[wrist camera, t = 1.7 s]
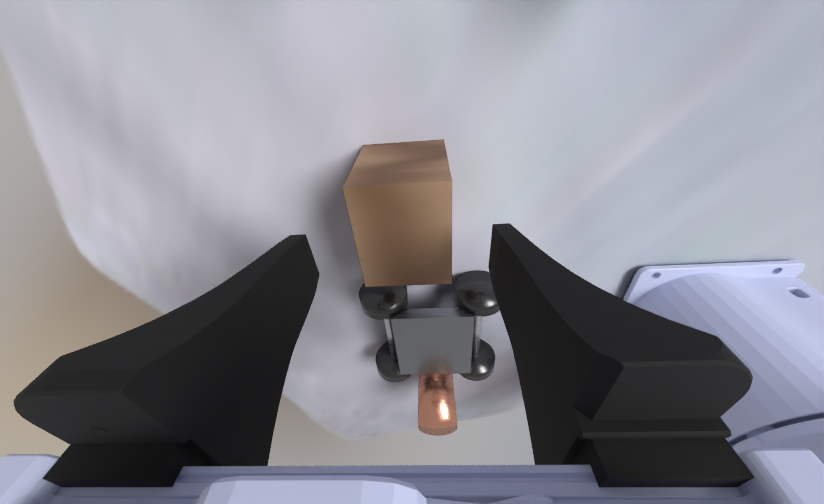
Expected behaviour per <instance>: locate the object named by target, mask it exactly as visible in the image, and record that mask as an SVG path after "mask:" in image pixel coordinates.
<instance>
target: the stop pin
mask: <svg viewBox="0 0 824 504" xmlns="http://www.w3.org/2000/svg"><path fill="white" fill-rule="evenodd" d="M418 428H419V430H420V431H422V432H423V433H426V434H430V435H446V434H450V433H452V432H454V431H455V430H456V429H457V418H456V407H455V395H454V384H453V374H419V382H418Z"/></svg>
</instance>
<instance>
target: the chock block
mask: <svg viewBox="0 0 824 504" xmlns="http://www.w3.org/2000/svg"><path fill="white" fill-rule="evenodd" d="M343 192H344V196H345V201H346V205H347V209H348V214H349V218H350V222H351V227H352V231H353V235H354V240H355V244H356V248H357V253H358V257H359V261H360V266H361V270H362V274H363V279H364V283H365V287H376V286H402V285H428V284H452V179H451V173H450V168H449V163H448V158H447V153H446V148H445V143H444V140H429V141H415V142H401V143H386V144H372V145H363V147H362V149H361V151H360V153H359V155H358V157H357V159H356V161H355V163H354V165H353V167H352V169H351V171H350V173H349V175H348V178H347V180H346V182H345V184H344V186H343Z"/></svg>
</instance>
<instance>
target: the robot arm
mask: <svg viewBox="0 0 824 504" xmlns="http://www.w3.org/2000/svg"><path fill="white" fill-rule="evenodd" d="M804 268H805V265H804V264H803V263H801V262H799V261H797V260H788V261H763V262H739V263H714V264H690V265H665V266H646V267H642V268H640V269H639V270H638V271H637V272H636V274H635V276H634V278H633V280H632V282H631V284H630V286H629V288H628V290H627V292H626V294H625V296H624V298H623V300H622V299H620V298H618V297H616V296H614V295H612V294H610V293H608V292H606V291H604V290H602V289H600V288H598V287H596V286H595V285H593V284H591V283H589V282H588V281H586V280H584V279H583V278H581V277H579V276H577V275H576V274H574V273H573V272H571V271H570V270H568V269H566V268H565V267H564V266H562V265H561V264H559V263H558V262H556V261H555V260H554V259H552V258H551V257H550V256H548V255H547V254H546V253H544V252H543V251H542V250H540V249H539V248H538V247H537V246H536V245H534V244H533V243H532V242H531V241H529V240H528V239H527V238H526V237H525V236H524V235H522V234H521V233H520V232H519V231H518V230H517V229H515V228H514V227H513V226H512V225H511V224H493V228H492V238H491V248H490V258H489V271H490V277H491V282H492V287H493V291H494V294H495V297H496V300H497V303H498V306H499V309H500V312H501V315H502V317H503V320H504V323H505V326H506V329H507V332H508V335H509V338H510V342H511V345H512V348H513V353H514V357H515V362H516V366H517V371H518V375H519V380H520V385H521V390H522V395H523V400H524V405H525V410H526V415H527V421H528V426H529V431H530V437H531V442H532V448H533V455H534V461H535V465H439V466H438V465H418V466H417V465H414V466H267V465H268V459H269V453H270V448H271V442H272V436H273V431H274V426H275V422H276V417H277V412H278V407H279V402H280V399H281V394H282V390H283V386H284V382H285V378H286V374H287V371H288V367H289V363H290V360H291V356H292V353H293V350H294V347H295V344H296V342H297V339H298V337H299V334H300V332H301V329H302V327H303V324H304V322H305V319H306V317H307V314H308V312H309V309H310V306H311V304H312V301H313V299H314V296H315V292H316V288H317V283H318V278H319V272H318V269H317V266H316V263H315V260H314V257H313V254H312V251H311V249H310V246H309V243H308V240H307V237H306V234H305V235H290V236H289V237H287V238H285V239H284V240H282V241H281V242H279V243H278V244H277V245H275V246H274V247H273V248H271V249H270V250H269V251H267V252H266V253H265V254H263V255H262V256H260V257H259V258H258V259H256V260H255V261H254V262H252V263H251V264H250V265H248V266H247V267H245V268H244V269H242V270H241V271H240V272H238V273H237V274H235V275H234V276H232V277H231V278H229V279H228V280H226V281H225V282H223V283H222V284H220V285H219V286H217V287H215V288H214V289H212V290H210V291H209V292H207V293H205V294H203V295H202V296H200V297H198V298H197V299H195V300H193V301H191V302H189V303H187V304H185V305H183V306H181V307H179V308H177V309H175V310H173V311H171V312H169V313H167V314H165V315H163V316H161V317H159V318H157V319H155V320H153V321H150V322H148V323H146V324H144V325H141V326H139V327H137V328H134V329H132V330H129V331H127V332H125V333H122V334H120V335H117V336H115V337H112V338H110V339H107V340H105V341H102V342H99V343H96V344H93V345H91V346H88V347H85V348H83V349H80V350H77V351H74V352H71V353H69V354H66V355H63V356H61V357H59V358H58V359H57V360H56V361H54V362H53V363H52V364H51V365H50V366H49V367H48V368H47V369H45V370H44V371H43V372H42V373H41V374H40V375H39V376H38V377H37V378H36V379H35V380H33V381H32V382H31V383H30V384H29V385H28V386H27V387H26V388H25V389H24V390H23V391H21V392H20V393H19V394H18V395H17V396H16V398H15V400H14V406H15V409H16V411H17V412H18V413H19V414H20V415H21V416H22V417H23V418H25V419H26V420H28V421H29V422H31V423H32V424H34V425H36V426H38V427H39V428H41V429H43V430H45V431H47V432H49V433H50V434H52V435H54V436H56V437H58V438H59V439H61V440H63V441H65V442H67V443H68V444H71V445H70V446H69V447H68V448H67V449H66V451H65V452H64V453H63V454H62V455H61V457H58V456H54V455H50V454H8V455H5V456H3V457H2V458H1V459H0V504H824V295H822V294H821V293H819V292H818V291H816V290H815V289H813V288H812V287H810V286H809V285H807V284H806V283H804V282H803V281H801V280H800V279H798V278H797V276H798V275H799V274H800V273H801V272H802V271H803V269H804Z"/></svg>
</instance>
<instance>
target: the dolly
mask: <svg viewBox="0 0 824 504" xmlns="http://www.w3.org/2000/svg"><path fill="white" fill-rule="evenodd" d="M359 297H360V301H361V305H362V309H363V311H364V313H365V314H366V315H368V316H369V317H371V318H374V319H381V320H383V319H384V323H385V328H386V333H387V338H388V342H387V343H385V344H384V345H382V346H381V347H380V348H379V350H378V352H377V354H376V364H377V368H378V372H379V374H380V375H381V377H382V378H384V379H385V380H387V381H390V382H400V381H403V380H405V379H407V378H408V377H409V376H410V375H411V374H455V373H459V374H460V375H462V376H463V377H465V378H466V379H469V380H473V381H479V380H483V379H486V378H487V377H489V376H490V375H491V373H492V372H493V369H494V363H495V353H494V351H493V349H492V347H491V346H490V345H489V344H488V343H486V342H485V341H483V340H480V334H481V324H482V316H489V315H493V314H495V313H496V312H498V311H499V310H500V309H499V306H498V303H497V300H496V297H495V294H494V291H493V287H492V282H491V277H490V273H489V272H486V271H470V272H467V273H464V274H463V275H461V276H460V277H459V278H458V279H457V281H456V283H455V301H456V303H457V305H458V307H446V308H417V309H405V308H406V306H407V304H408V294H407V286H406V285H402V286H376V287H365V283H364V284H363V285H362V286H361V288H360V290H359Z"/></svg>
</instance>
